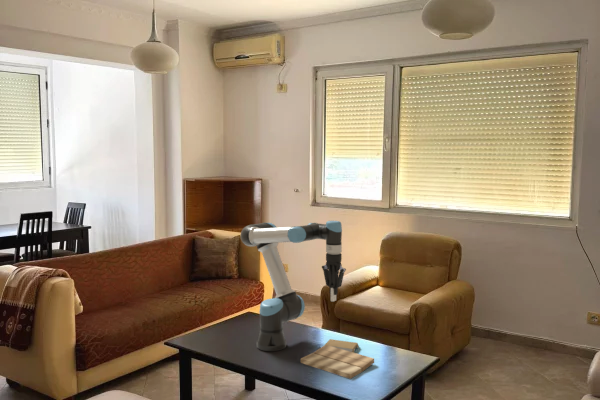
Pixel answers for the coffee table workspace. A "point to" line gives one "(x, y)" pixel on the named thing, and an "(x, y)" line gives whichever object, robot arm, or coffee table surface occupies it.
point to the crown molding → (343, 345)
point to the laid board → (331, 365)
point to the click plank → (345, 356)
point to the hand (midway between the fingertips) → (333, 300)
